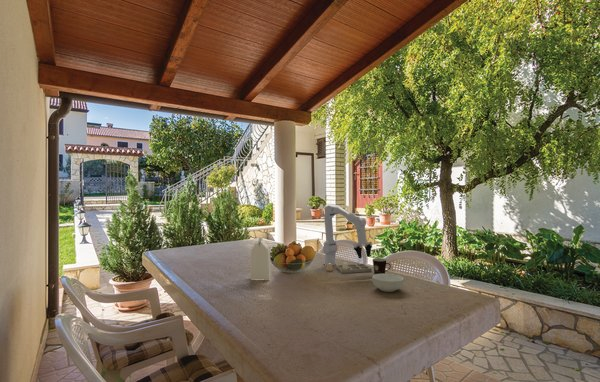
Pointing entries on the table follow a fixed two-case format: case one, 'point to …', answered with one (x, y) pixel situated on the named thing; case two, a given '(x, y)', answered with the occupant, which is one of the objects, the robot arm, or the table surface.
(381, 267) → the coffee mug
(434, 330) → the table surface
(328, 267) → the brown egg
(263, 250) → the milk
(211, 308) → the table surface
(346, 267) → the cream egg
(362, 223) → the robot arm
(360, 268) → the egg carton
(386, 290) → the cereal bowl
